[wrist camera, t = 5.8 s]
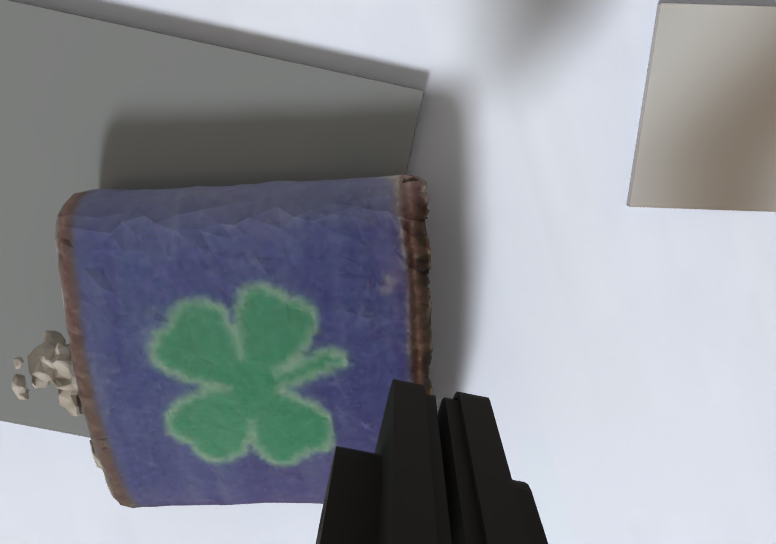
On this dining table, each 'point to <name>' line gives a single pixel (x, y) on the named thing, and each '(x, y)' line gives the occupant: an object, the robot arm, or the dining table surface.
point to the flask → (236, 332)
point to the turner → (708, 111)
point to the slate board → (153, 146)
